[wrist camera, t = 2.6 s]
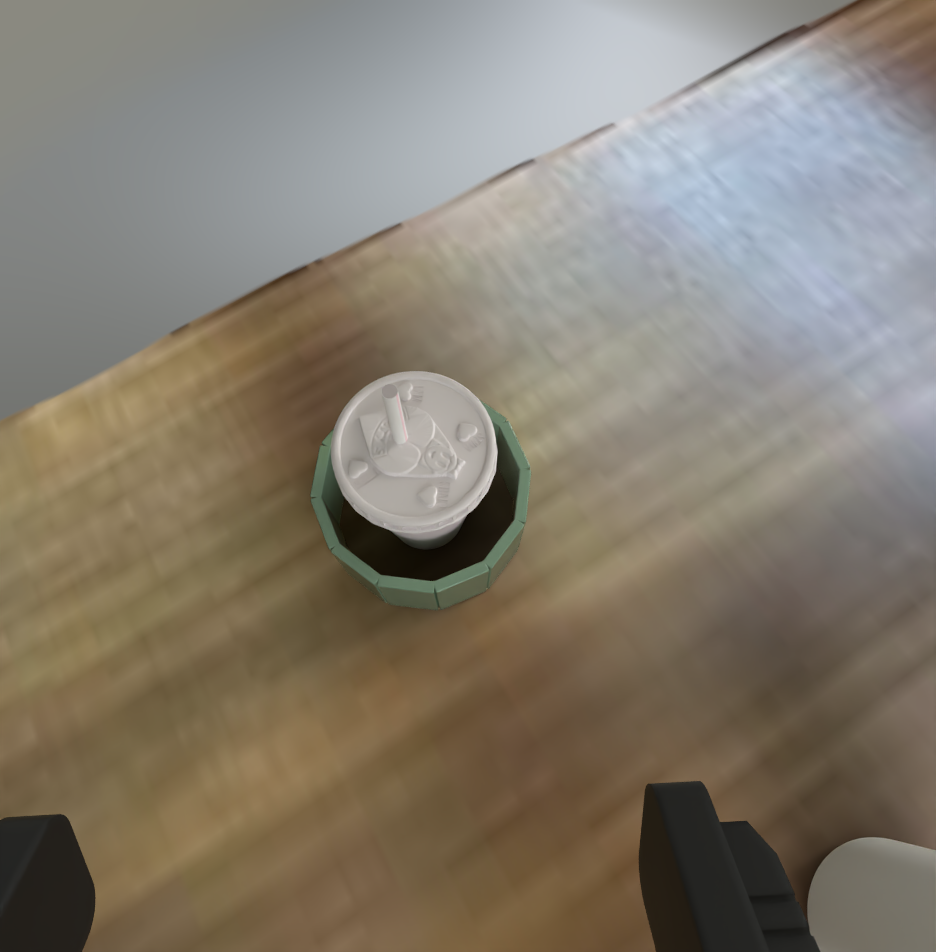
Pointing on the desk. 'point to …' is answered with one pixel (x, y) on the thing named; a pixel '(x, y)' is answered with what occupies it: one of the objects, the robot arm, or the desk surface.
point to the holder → (450, 587)
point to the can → (874, 898)
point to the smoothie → (415, 455)
